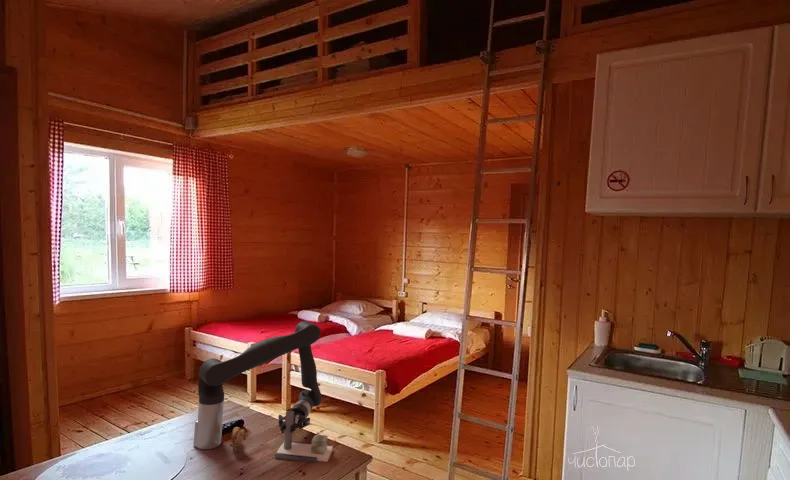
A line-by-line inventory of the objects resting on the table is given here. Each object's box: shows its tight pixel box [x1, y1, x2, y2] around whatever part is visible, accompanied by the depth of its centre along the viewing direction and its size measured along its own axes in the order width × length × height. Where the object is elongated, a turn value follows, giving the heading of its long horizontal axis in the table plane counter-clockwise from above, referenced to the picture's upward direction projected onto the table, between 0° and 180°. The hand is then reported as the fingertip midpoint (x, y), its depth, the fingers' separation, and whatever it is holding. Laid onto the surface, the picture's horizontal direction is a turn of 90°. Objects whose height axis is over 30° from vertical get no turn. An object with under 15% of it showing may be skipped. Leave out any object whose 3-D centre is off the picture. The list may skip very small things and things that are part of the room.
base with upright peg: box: [275, 409, 334, 462], centre depth 163 cm, size 20×9×16 cm, turn 86°
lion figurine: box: [229, 426, 249, 454], centre depth 165 cm, size 15×5×9 cm, turn 35°
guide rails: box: [274, 440, 318, 463], centre depth 163 cm, size 16×12×2 cm
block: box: [311, 434, 328, 455], centre depth 163 cm, size 5×5×5 cm
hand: (286, 429), depth 161 cm, fingers closed on base with upright peg, 3 cm apart
